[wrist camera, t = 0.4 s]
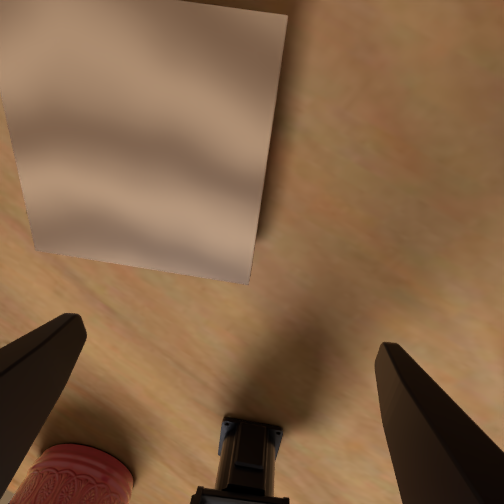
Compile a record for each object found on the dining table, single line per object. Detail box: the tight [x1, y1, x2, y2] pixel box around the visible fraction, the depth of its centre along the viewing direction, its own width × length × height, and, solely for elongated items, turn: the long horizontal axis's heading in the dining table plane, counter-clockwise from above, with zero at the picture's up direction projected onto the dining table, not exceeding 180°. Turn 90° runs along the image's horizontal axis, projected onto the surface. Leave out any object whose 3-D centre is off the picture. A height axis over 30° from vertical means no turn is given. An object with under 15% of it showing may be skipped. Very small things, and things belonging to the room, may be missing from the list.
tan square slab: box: [0, 0, 288, 285], centre depth 20 cm, size 15×15×4 cm
